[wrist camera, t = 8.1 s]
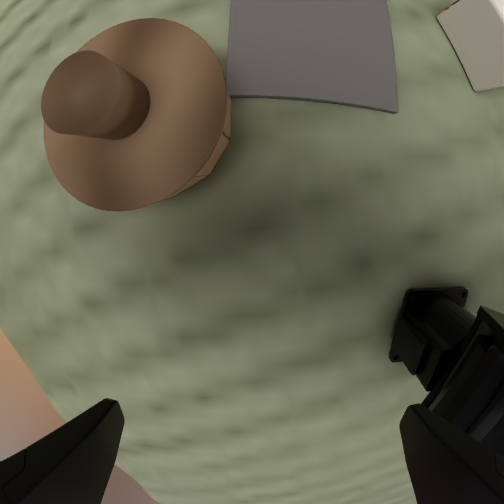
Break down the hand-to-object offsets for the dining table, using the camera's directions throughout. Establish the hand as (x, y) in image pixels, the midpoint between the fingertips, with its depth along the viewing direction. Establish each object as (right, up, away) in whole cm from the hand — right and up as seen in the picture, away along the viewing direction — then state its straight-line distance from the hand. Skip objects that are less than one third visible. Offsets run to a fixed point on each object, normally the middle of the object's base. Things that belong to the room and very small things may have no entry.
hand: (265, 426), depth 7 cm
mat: (+4, +20, +7) cm, 21 cm away
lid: (-7, +12, +5) cm, 14 cm away
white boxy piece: (+19, +22, +6) cm, 30 cm away
